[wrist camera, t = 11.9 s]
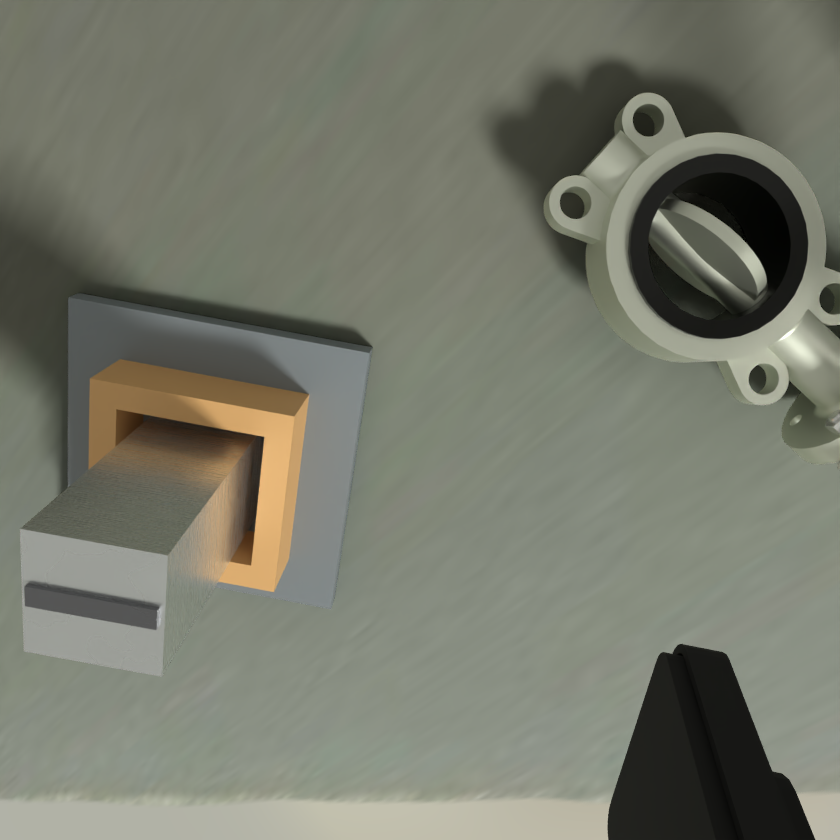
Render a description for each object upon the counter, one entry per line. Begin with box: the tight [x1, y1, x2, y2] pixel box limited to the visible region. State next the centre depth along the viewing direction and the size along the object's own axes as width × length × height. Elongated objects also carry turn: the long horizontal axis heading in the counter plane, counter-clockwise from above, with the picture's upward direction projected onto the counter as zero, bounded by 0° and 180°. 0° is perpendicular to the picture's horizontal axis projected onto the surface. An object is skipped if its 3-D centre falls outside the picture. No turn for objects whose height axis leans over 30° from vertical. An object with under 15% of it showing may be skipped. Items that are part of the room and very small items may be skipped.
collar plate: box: [68, 293, 373, 609], centre depth 37 cm, size 14×14×4 cm
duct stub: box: [20, 416, 263, 677], centre depth 32 cm, size 5×5×12 cm
